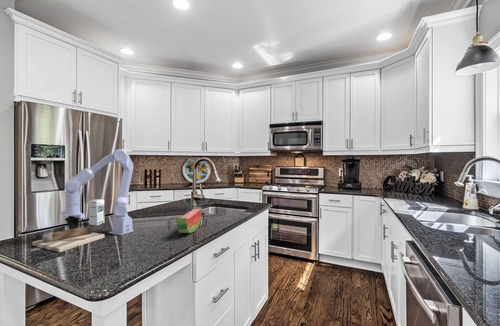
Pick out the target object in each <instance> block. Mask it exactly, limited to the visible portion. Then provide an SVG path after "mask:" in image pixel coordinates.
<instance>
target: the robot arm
mask: <svg viewBox="0 0 500 326" xmlns="http://www.w3.org/2000/svg"><path fill="white" fill-rule="evenodd" d="M130 157H131V156H130V155H129V153H127V151H126V150H124V149H119V148H118V149H116V150H114V152H110V153H108V154H107V155H106V156H103V158H101V159H100V160H99V161H97V163H95V164H94V165H92V166H91V167H90V168H84V169H80V172H79V173H77V174H76V175H75V176H73V175H72V177H71V179H70V180H67V182H65V184H64V189H65V210H64V211H61V216H62V217H65V218H64V220H65V222H66V223H67V225H68V228H69V230H70V229H76V228H78V224H79V222H80V220H82V219H85V218H86V214H85V213H82V211H81V194H80V188H81V187H82V186H85V184H87V183H88V182H90V181H91V180H92V179H93V178H95V175H96V172H98V171H100V170H101V169H102V168H103V167H105V166H106V165H108V164H110V163H114V162H115V161H116V162H118V163H119V164H120V166H122V167H123V170H122V175H121V180H120V185H119V188H118V189H119V191H118V194H117V197H116V198H117V199H116V202H115V203H114V205H113V214H112V231H111V230H110V231H109V232H108V234H112V235H117V236H123V235H126V234H129V233H132V232H135V230H134V229H133V218H132V217H131V216H129V214H128V207H127V204H128V196H129V191H130V186H131V181H132V176H133V171H134V163H133V161H132V159H131V158H130Z"/></svg>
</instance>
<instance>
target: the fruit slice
mask: <svg viewBox="0 0 500 326" xmlns="http://www.w3.org/2000/svg"><path fill="white" fill-rule="evenodd" d="M201 219H202V207H198V206H197V207H192V209H191V210H189V212H186V213H185V214H184V215H182V216H181V217H176V227H177V231H178V233H180V234H191V233H194V232H195V231H196V230H197V229H198V227H199V226H200V224H201Z"/></svg>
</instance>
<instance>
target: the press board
mask: <svg viewBox="0 0 500 326" xmlns="http://www.w3.org/2000/svg"><path fill="white" fill-rule="evenodd" d="M104 238H105V234H103V233H98V232H95V231H93V232H92V231H91V233H88V234H83V235H78V236H73V237H68V238H63V239H58V240H53V241H49V242H43V238H42V239H39V240H36V241H32V246H34V247H37V248H42V249H46V250H49V251H53V252H57V253H62V252H64V251H68V250H70V249H73V248H77V247H80V246H83V245H85V244H89V243H92V242H95V241H97V240H100V239H101V240H102V239H104Z"/></svg>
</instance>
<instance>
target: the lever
mask: <svg viewBox="0 0 500 326" xmlns="http://www.w3.org/2000/svg"><path fill="white" fill-rule="evenodd" d="M91 232H92V225H85V226H83V227H77V228H76V229H70V228H69V229H65V230H61V231H55V232H52V231H51V232H45V233H43V234H42V239H43V242H49V241H53V240H58V239H63V238H68V237H73V236H78V235H83V234H88V233H91Z"/></svg>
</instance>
